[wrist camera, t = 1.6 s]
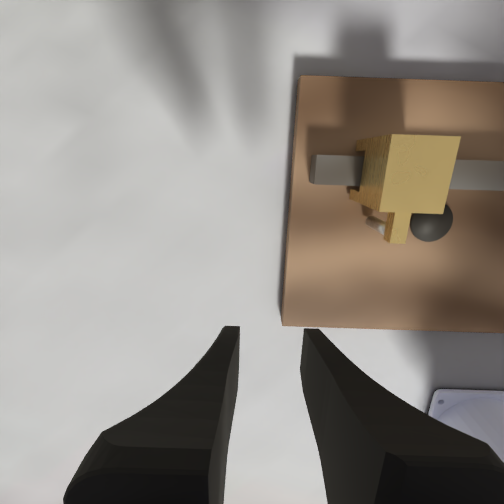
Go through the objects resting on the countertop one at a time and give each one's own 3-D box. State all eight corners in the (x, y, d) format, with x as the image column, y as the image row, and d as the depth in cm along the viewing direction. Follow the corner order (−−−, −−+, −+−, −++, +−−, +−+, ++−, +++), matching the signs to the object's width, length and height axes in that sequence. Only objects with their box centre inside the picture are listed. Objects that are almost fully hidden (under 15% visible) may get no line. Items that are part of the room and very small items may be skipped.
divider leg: (392, 227, 19) (434, 248, 14) (345, 225, 19) (373, 246, 14) (408, 142, 17) (461, 136, 13) (356, 140, 17) (392, 133, 13)
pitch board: (555, 326, 22) (676, 394, 16) (280, 317, 22) (291, 382, 16) (647, 92, 18) (876, 54, 11) (297, 80, 18) (323, 35, 11)
